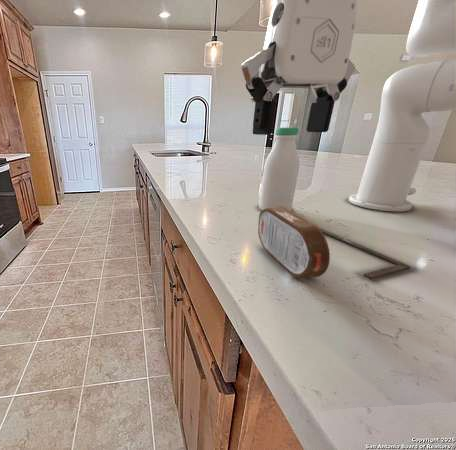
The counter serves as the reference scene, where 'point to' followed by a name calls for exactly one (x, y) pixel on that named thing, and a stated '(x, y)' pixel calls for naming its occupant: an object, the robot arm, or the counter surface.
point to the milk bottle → (280, 171)
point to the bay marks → (377, 273)
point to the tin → (293, 242)
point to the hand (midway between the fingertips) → (290, 133)
